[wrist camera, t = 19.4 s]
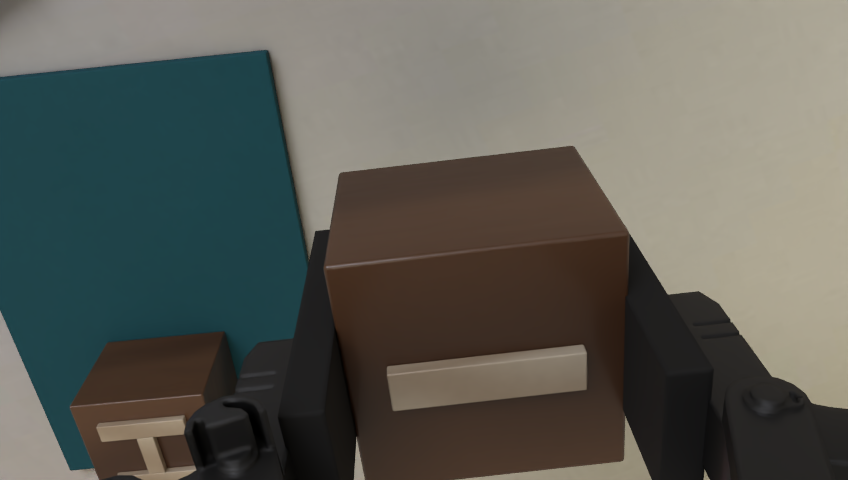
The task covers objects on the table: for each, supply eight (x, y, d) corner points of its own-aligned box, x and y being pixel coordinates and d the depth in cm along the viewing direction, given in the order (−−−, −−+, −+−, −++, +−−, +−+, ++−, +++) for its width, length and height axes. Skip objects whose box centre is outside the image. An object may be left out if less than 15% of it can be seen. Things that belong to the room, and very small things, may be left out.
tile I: (338, 171, 17) (320, 275, 13) (574, 144, 17) (635, 239, 13) (371, 362, 20) (365, 501, 15) (577, 339, 19) (629, 472, 15)
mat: (-90, 85, 29) (-97, 89, 28) (268, 49, 28) (266, 52, 28) (73, 463, 38) (70, 471, 37) (342, 438, 38) (342, 445, 37)
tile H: (106, 341, 34) (65, 412, 30) (224, 330, 34) (200, 399, 30) (139, 431, 36) (105, 508, 32) (249, 421, 36) (229, 496, 32)
